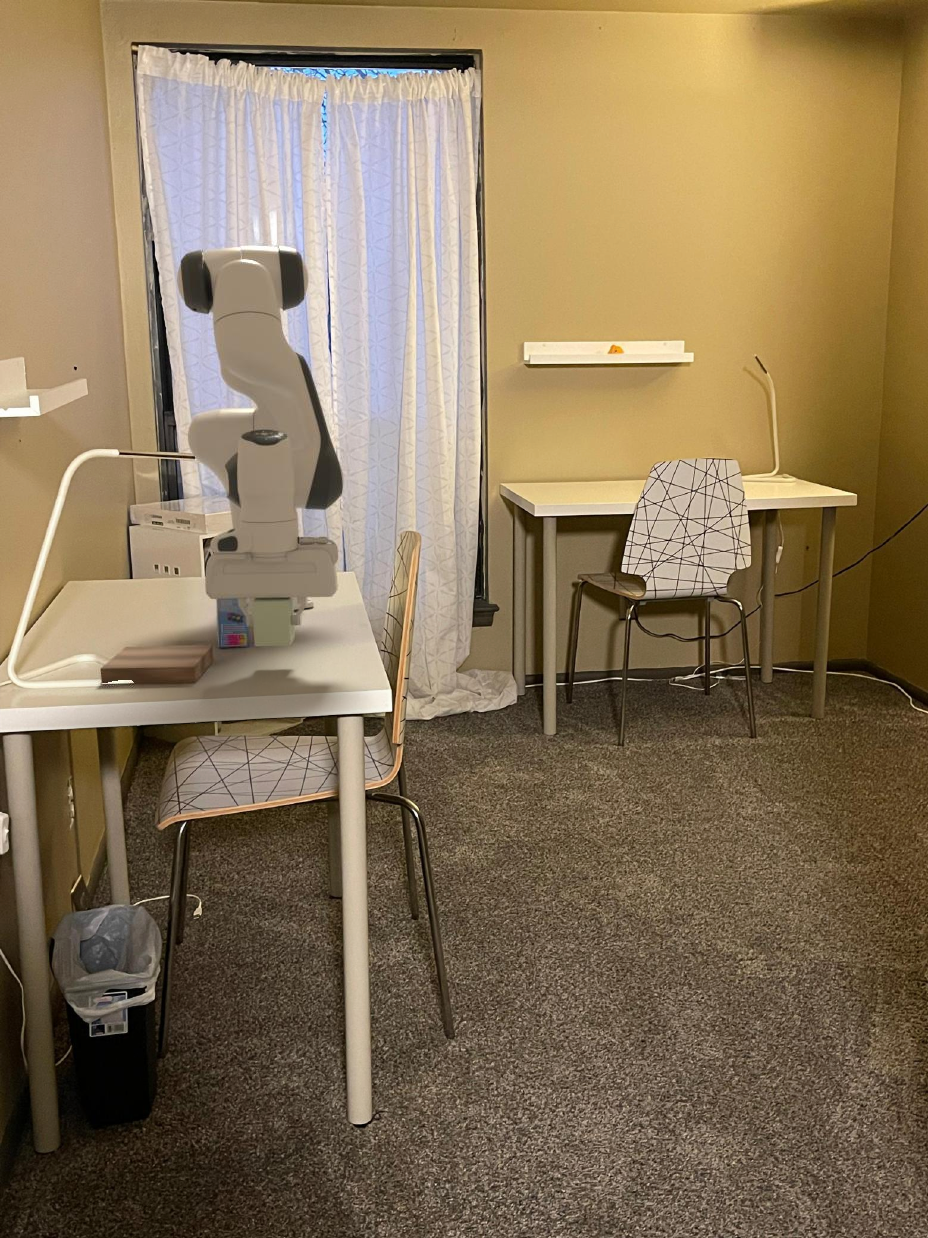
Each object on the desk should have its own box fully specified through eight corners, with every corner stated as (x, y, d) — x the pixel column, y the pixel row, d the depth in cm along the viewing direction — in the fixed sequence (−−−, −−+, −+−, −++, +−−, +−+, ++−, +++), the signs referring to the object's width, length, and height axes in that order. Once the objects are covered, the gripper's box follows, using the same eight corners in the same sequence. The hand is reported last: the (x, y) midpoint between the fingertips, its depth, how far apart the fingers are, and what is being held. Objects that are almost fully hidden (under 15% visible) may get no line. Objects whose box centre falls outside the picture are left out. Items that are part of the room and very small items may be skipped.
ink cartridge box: (251, 647, 197) (247, 563, 194) (218, 649, 195) (213, 564, 192) (249, 634, 206) (244, 554, 203) (217, 636, 205) (212, 555, 202)
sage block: (260, 637, 184) (258, 594, 183) (294, 637, 185) (292, 594, 183) (254, 646, 179) (252, 602, 178) (290, 645, 179) (288, 601, 178)
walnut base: (127, 661, 188) (125, 646, 187) (213, 660, 188) (212, 645, 188) (101, 684, 174) (100, 668, 174) (195, 682, 174) (193, 666, 174)
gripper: (339, 533, 181) (342, 619, 184) (208, 535, 181) (213, 621, 184) (335, 539, 175) (338, 628, 178) (199, 541, 175) (205, 631, 178)
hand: (274, 625), depth 181 cm, fingers closed on sage block, 5 cm apart
